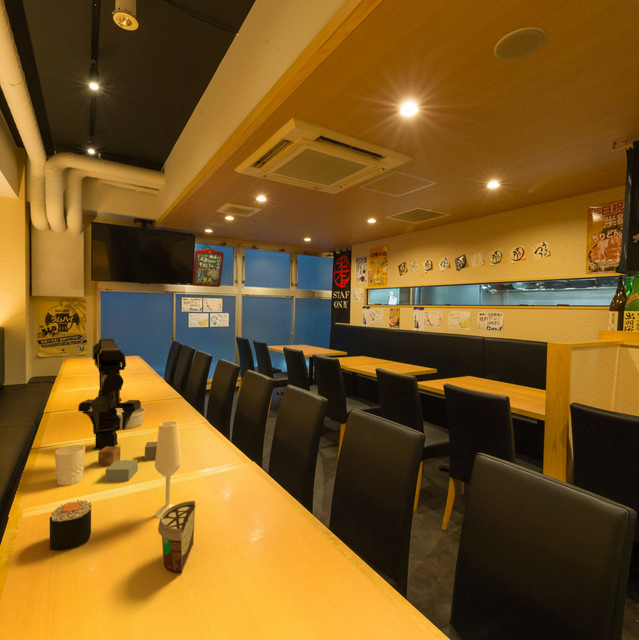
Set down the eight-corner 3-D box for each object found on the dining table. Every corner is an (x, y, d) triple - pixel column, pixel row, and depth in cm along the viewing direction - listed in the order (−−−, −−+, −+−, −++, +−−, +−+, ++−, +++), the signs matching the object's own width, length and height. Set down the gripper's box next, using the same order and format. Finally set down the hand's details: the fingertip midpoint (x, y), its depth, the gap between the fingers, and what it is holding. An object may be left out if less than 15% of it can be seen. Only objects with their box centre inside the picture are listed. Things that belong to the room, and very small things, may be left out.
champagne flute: (161, 504, 104) (162, 419, 103) (184, 505, 103) (186, 420, 103) (149, 518, 97) (150, 427, 96) (174, 519, 97) (175, 428, 96)
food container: (168, 541, 87) (168, 500, 87) (195, 540, 88) (195, 499, 88) (148, 580, 75) (149, 531, 75) (179, 578, 76) (180, 530, 75)
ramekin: (116, 432, 160) (116, 416, 160) (109, 424, 170) (109, 409, 170) (148, 426, 169) (148, 411, 169) (140, 419, 179) (140, 405, 179)
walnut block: (98, 466, 127) (98, 451, 127) (105, 460, 132) (106, 446, 132) (113, 466, 127) (113, 452, 127) (120, 460, 132) (120, 446, 132)
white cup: (52, 488, 111) (52, 455, 110) (57, 477, 118) (57, 446, 117) (83, 483, 114) (83, 451, 114) (86, 473, 121) (86, 443, 121)
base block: (105, 482, 116) (105, 469, 116) (115, 472, 123) (115, 460, 123) (128, 481, 117) (128, 469, 117) (137, 472, 124) (137, 460, 124)
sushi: (45, 555, 82) (45, 519, 81) (55, 533, 89) (55, 501, 89) (88, 546, 85) (88, 512, 85) (94, 526, 93) (94, 495, 92)
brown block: (144, 461, 132) (144, 447, 132) (146, 455, 137) (146, 442, 137) (159, 459, 133) (160, 446, 133) (161, 454, 138) (161, 441, 138)
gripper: (68, 390, 120) (68, 437, 121) (127, 391, 121) (126, 438, 122) (87, 383, 131) (87, 426, 132) (141, 384, 132) (141, 427, 133)
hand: (110, 429), depth 129 cm, fingers open, 9 cm apart
